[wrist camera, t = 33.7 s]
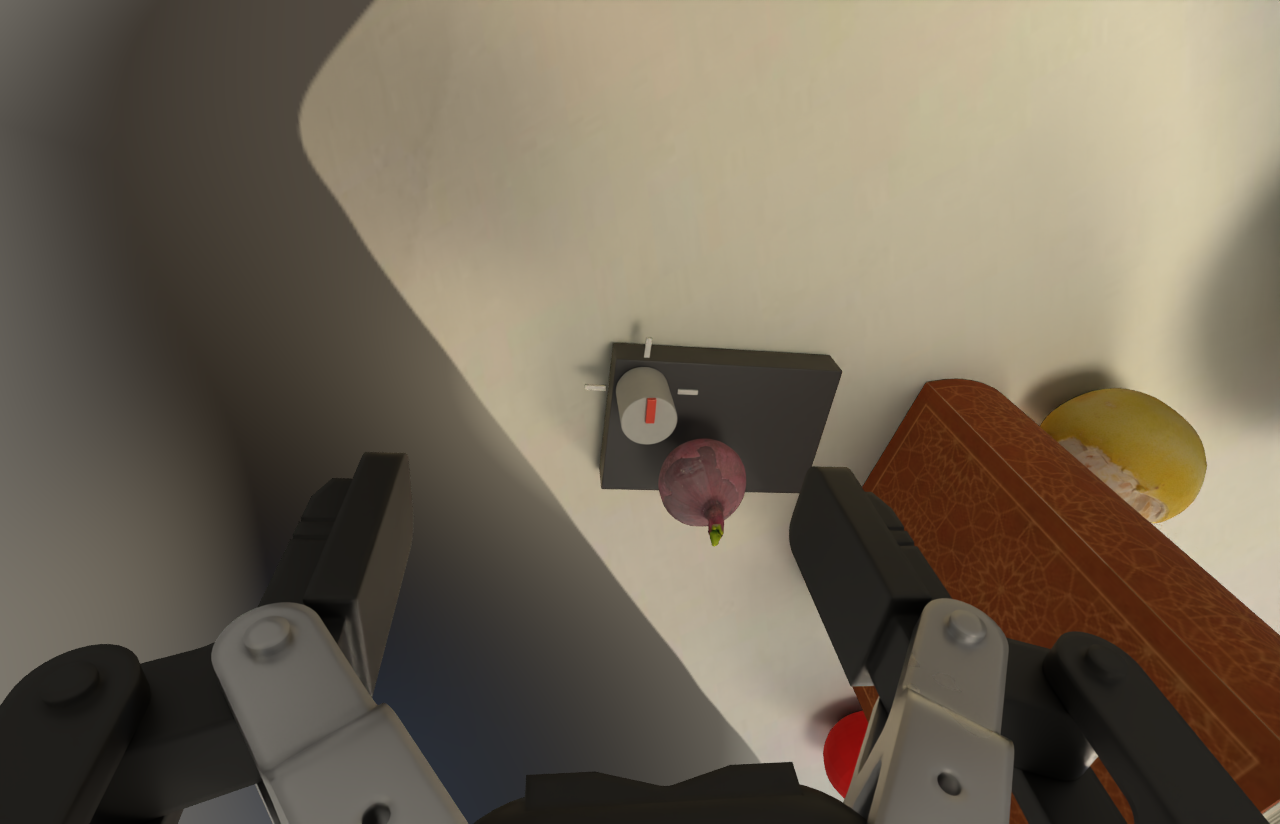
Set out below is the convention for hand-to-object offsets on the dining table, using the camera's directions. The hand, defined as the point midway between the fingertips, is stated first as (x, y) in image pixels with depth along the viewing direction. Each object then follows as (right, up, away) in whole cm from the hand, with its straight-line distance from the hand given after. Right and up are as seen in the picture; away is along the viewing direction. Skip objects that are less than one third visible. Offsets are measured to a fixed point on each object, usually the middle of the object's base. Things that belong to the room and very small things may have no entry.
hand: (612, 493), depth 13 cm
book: (+23, -5, +43) cm, 49 cm away
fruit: (+36, +1, +40) cm, 54 cm away
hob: (+5, +2, +35) cm, 36 cm away
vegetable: (+4, -1, +34) cm, 35 cm away
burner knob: (+1, +3, +31) cm, 31 cm away
